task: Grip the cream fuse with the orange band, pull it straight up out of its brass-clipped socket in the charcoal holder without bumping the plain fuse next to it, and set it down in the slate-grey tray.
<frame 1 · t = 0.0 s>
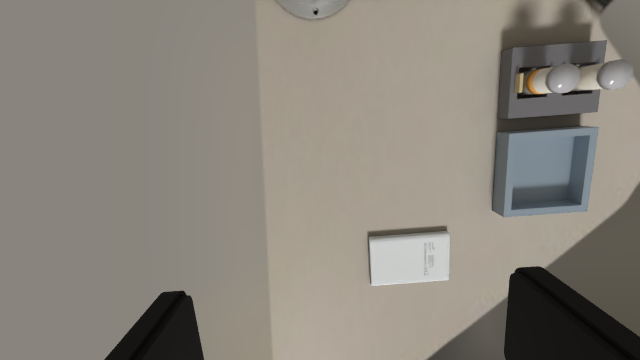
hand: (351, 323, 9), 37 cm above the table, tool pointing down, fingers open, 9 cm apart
fuse holder: (542, 82, 42), on the table
tray: (534, 169, 45), on the table
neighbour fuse: (564, 80, 42), resting in fuse holder
marked fuse: (520, 83, 43), resting in fuse holder
external hard drive: (406, 255, 49), on the table
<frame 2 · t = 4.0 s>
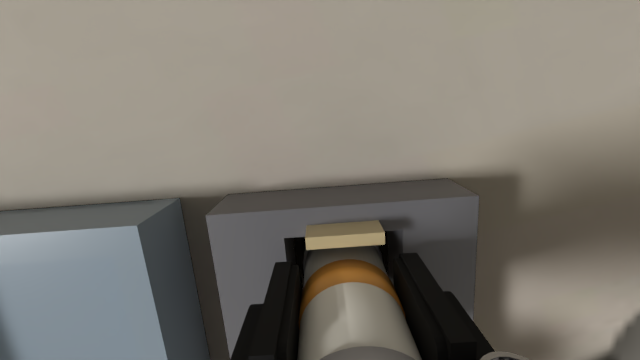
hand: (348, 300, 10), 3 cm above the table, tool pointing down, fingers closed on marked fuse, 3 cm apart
fuse holder: (345, 314, 14), on the table
tray: (74, 332, 14), on the table
marked fuse: (341, 253, 13), resting in fuse holder, touching gripper
when the fingers open (5 cm above the table, at t = 9.4 s): marked fuse stays where it is, resting on tray.
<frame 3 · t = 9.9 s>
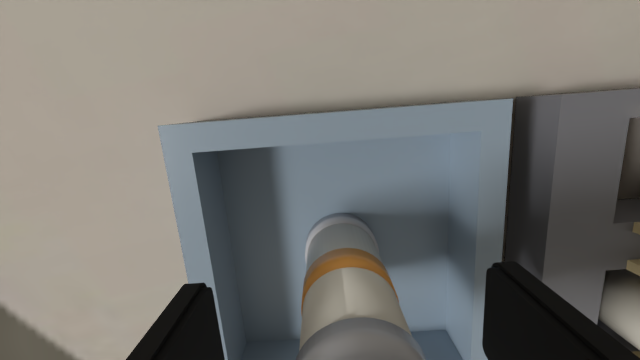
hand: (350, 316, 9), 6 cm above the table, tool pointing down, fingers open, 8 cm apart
fuse holder: (602, 220, 14), on the table
tray: (338, 239, 15), on the table
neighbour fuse: (594, 277, 15), resting in fuse holder
marked fuse: (340, 245, 14), resting on tray
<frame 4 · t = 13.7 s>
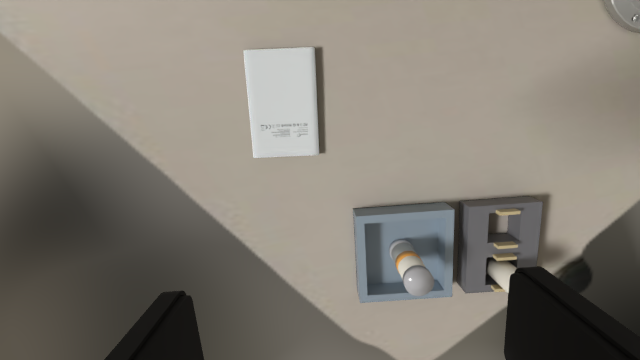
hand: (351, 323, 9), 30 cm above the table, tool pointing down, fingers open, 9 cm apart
fuse holder: (491, 240, 41), on the table
tray: (399, 247, 41), on the table
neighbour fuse: (490, 260, 42), resting in fuse holder
marked fuse: (400, 249, 41), point 1 cm above the table, touching tray
external hard drive: (284, 104, 38), on the table
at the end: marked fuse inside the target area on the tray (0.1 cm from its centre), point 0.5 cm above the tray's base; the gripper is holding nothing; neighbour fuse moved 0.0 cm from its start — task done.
